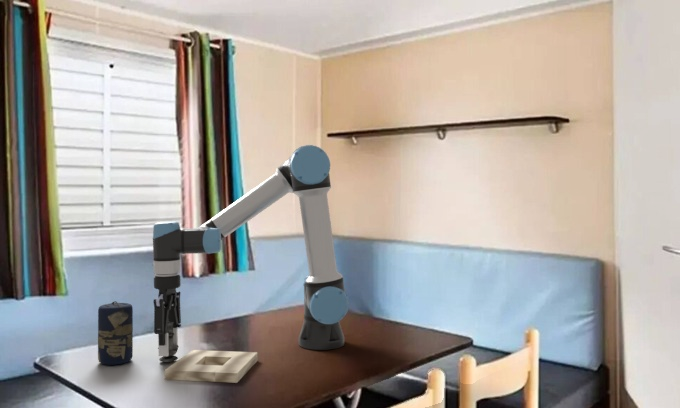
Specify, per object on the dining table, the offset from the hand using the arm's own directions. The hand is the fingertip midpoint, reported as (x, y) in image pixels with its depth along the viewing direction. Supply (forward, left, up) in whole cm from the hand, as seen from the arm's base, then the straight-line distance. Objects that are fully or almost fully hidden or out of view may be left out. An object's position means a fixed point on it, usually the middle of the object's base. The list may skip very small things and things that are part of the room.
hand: (168, 352), depth 168 cm
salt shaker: (0, 0, -2) cm, 2 cm away
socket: (-16, +5, -3) cm, 17 cm away
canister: (+15, +2, -3) cm, 16 cm away
